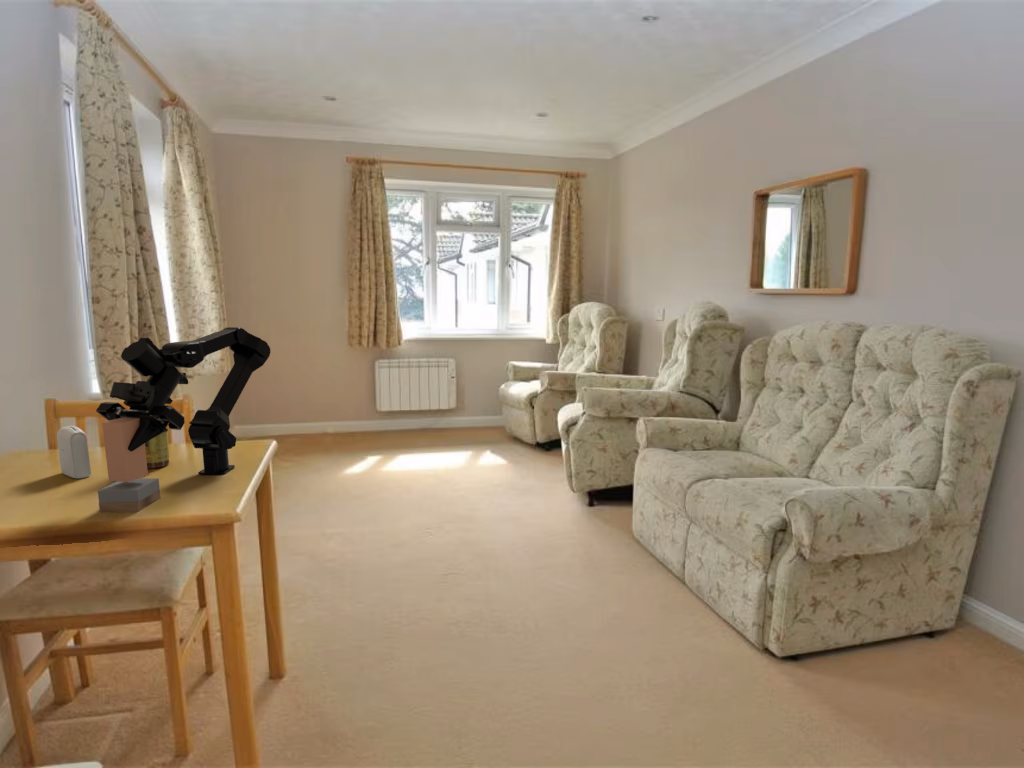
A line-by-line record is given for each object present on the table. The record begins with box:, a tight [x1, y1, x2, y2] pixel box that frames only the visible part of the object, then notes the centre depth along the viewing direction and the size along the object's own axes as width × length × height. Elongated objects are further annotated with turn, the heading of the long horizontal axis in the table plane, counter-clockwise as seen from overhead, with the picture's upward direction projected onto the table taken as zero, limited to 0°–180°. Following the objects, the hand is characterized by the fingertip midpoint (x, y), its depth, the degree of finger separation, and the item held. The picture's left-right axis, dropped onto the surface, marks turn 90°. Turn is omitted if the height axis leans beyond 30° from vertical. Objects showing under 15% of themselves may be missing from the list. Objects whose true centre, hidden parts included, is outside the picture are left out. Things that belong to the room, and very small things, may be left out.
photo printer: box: [56, 425, 92, 480], centre depth 148 cm, size 10×4×12 cm, turn 53°
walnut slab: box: [98, 489, 161, 513], centre depth 127 cm, size 8×8×2 cm
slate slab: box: [97, 477, 160, 504], centre depth 127 cm, size 8×8×2 cm
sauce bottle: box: [145, 426, 170, 469], centre depth 154 cm, size 7×6×20 cm
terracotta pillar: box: [101, 417, 149, 482], centre depth 126 cm, size 5×5×12 cm
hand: (119, 449), depth 124 cm, fingers closed on terracotta pillar, 5 cm apart
